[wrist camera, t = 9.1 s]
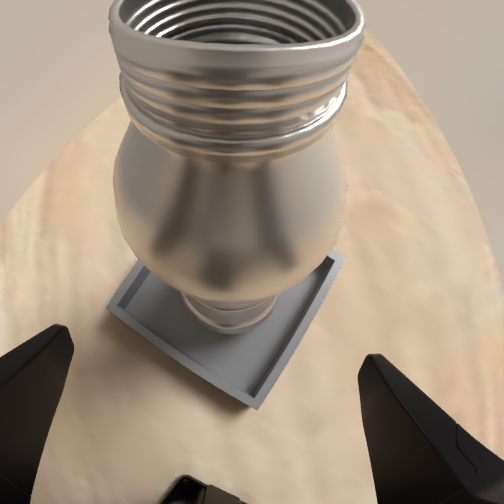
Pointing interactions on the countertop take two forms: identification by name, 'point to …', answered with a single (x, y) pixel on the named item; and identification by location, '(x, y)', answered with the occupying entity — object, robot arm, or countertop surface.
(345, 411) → the countertop surface
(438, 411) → the robot arm
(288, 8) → the plastic bottle
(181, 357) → the gray tray
